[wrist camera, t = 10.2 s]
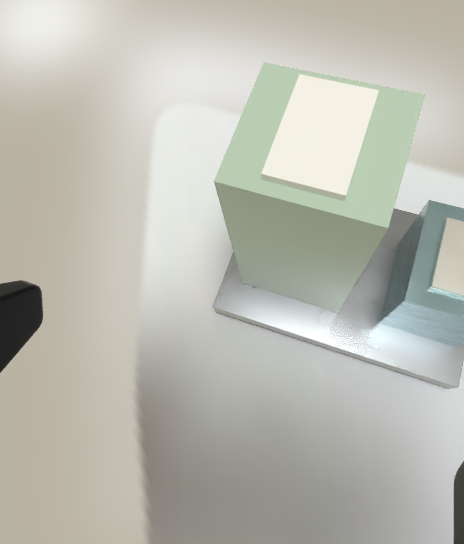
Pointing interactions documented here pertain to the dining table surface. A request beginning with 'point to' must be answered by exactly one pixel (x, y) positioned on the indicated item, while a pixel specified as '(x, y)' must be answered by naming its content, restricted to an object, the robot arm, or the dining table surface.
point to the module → (313, 180)
